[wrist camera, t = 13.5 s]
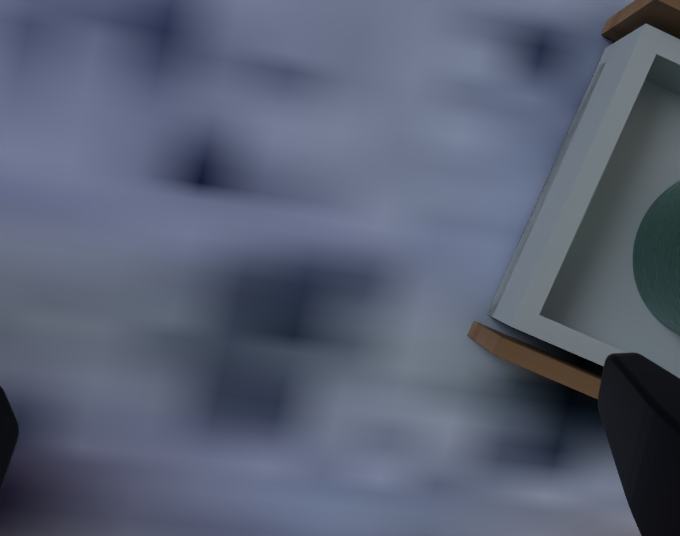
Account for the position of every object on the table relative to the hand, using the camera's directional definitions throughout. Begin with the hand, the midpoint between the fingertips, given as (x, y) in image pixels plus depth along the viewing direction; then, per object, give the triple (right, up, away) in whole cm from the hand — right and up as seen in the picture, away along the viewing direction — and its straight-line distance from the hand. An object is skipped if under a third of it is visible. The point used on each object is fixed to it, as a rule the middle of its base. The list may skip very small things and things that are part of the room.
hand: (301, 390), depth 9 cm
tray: (+11, +3, +10) cm, 15 cm away
